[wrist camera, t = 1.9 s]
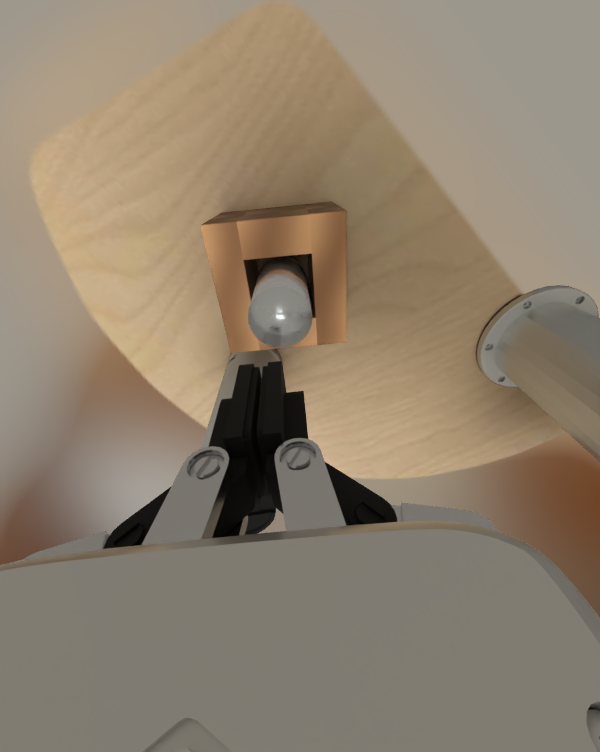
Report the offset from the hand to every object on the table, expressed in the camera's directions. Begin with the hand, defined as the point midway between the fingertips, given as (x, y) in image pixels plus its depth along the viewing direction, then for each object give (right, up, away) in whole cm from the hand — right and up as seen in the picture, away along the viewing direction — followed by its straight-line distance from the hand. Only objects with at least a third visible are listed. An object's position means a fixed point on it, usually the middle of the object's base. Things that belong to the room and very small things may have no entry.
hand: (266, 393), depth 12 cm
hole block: (0, +12, +18) cm, 21 cm away
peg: (0, +9, +13) cm, 16 cm away
